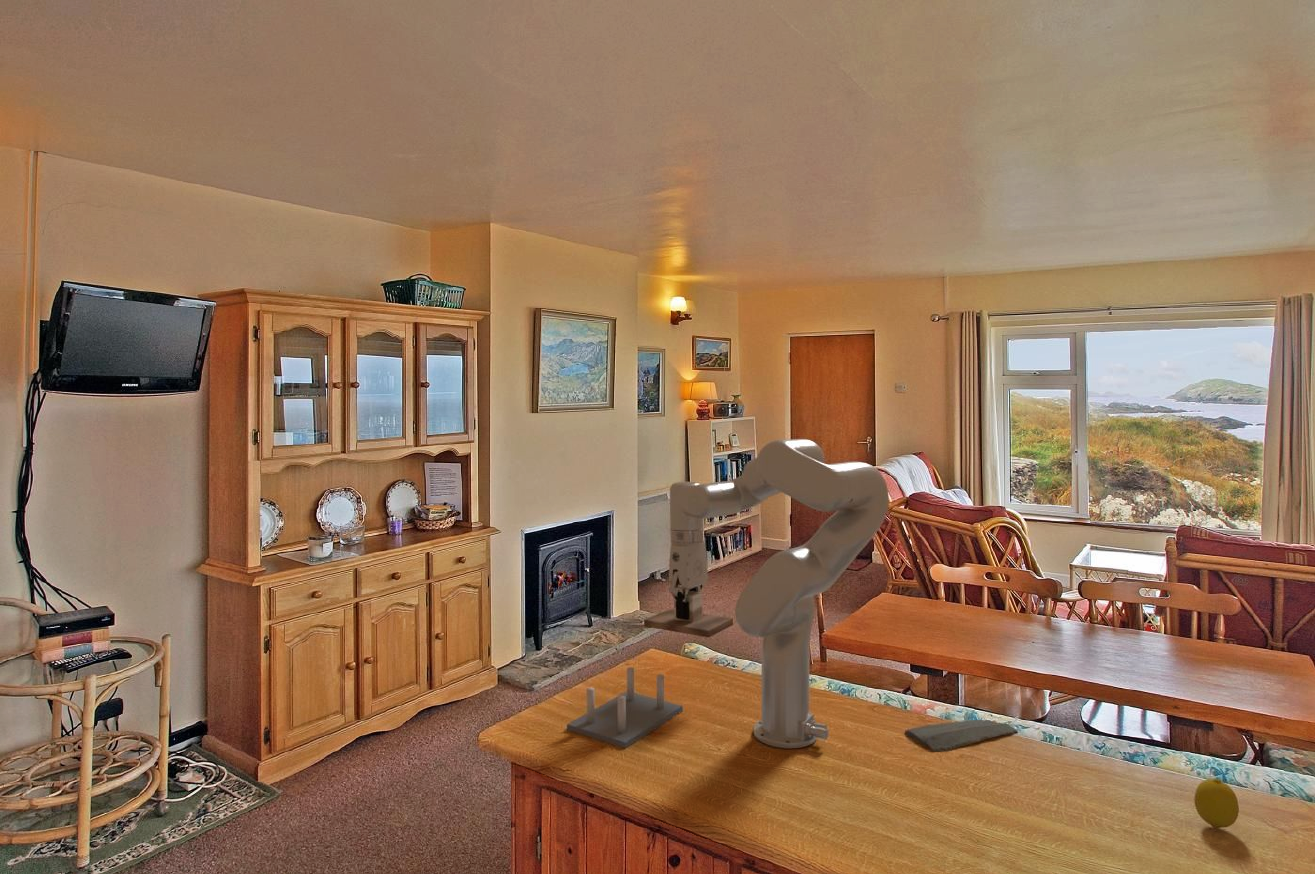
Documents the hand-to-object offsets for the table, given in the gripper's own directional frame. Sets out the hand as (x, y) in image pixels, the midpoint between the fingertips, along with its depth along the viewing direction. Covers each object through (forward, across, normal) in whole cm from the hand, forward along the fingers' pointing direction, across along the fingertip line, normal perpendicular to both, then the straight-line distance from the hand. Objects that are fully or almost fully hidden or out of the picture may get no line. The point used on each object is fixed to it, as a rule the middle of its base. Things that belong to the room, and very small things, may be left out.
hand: (688, 615), depth 168 cm
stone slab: (+21, +15, -56) cm, 61 cm away
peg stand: (+19, -18, +5) cm, 26 cm away
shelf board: (+2, 0, 0) cm, 2 cm away
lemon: (+21, +1, -96) cm, 98 cm away
